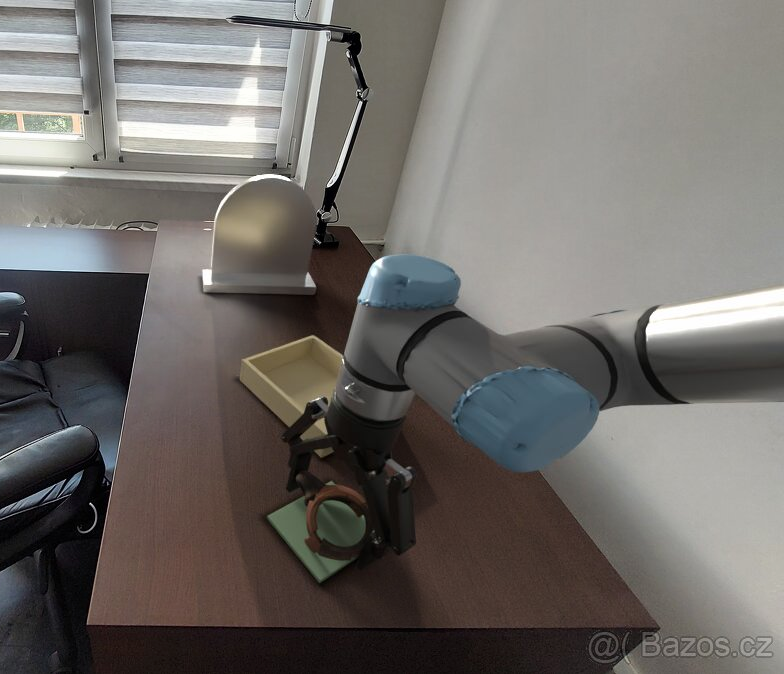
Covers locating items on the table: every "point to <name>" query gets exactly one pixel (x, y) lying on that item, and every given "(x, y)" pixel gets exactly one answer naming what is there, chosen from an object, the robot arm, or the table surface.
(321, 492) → the pottery mug
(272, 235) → the award
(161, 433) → the table surface
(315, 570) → the mat
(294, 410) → the cream yellow tray
